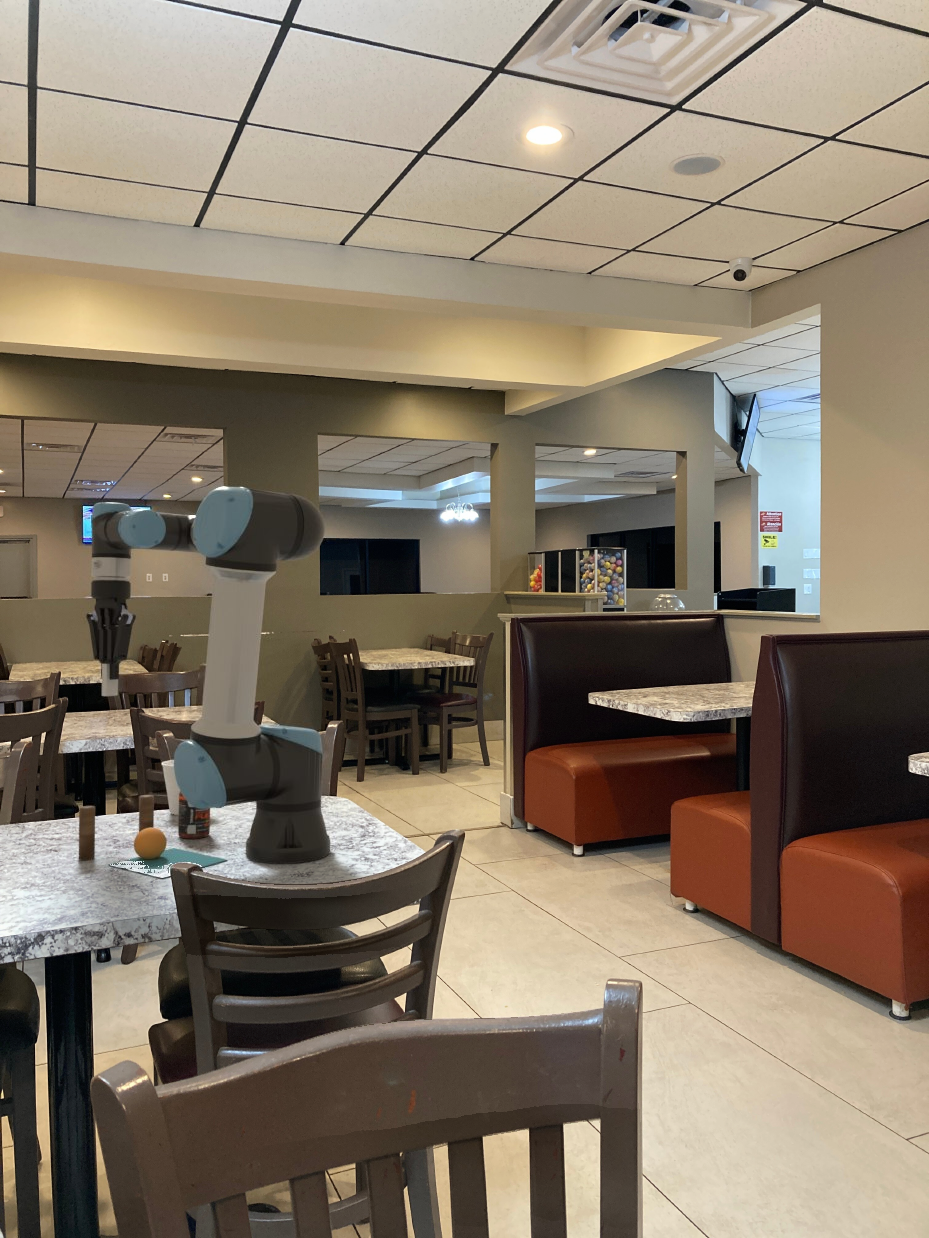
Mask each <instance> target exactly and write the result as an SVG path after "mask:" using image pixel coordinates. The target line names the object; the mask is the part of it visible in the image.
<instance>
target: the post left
mask: <svg viewBox="0 0 929 1238" xmlns="http://www.w3.org/2000/svg"><path fill="white" fill-rule="evenodd" d="M78 808H79V809H78V810H79V812H78V817H79V818H78V860H79V861H91V859H92V860H94V859H95V857H96V855H95V853H96V852H95V849H96V847H95V846H96V806H95V805H84V806H80V807H78Z"/></svg>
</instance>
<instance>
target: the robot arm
mask: <svg viewBox="0 0 929 1238" xmlns="http://www.w3.org/2000/svg"><path fill="white" fill-rule="evenodd" d="M91 514H92V515H91V520H90V523H91V577H92V578H94V579H93V580H91V582H90V585H91V586H90V596H91V598H92V599H95V603H94V604H95V605H94V606H93V609H94V610H93V611H92V612H91V613H87V614H85V615H86V617H85V618H86V621H87V622H88V625H89V631H90V632H89V634H90V640H91V647H92V654H93V659H94V660H96V661H98V662H99V663H100V665H101V667H100V670H101V672H100V673H101V674H100V677H101V696H102V697H115V696H119V678H120V663H122V662H124V661H127V659H128V654H129V648H130V643H131V635H132V630H133V625H134V623H135V621H136V617H137V616H136V614H134V613H130V612H129V611H128V604H127V600H129V599H131V593H132V592H131V590H132V589H131V587H132V585H131V583H132V582H131V581H130V580H128V579H130V578H131V577H132V550H134V549H135V550H138V549H139V550H152V551H167V552H168V551H171V552H173V551H174V552H186V553H195V554H197V553H198V554H201V555H202V556H204V557H205V564H204V566H205V568H206V569H207V570H208V571H209V572H210V574H211V575H212V577H213V582H212V593H211V606H210V613H209V614H210V616H209V624H208V625H209V627H208V638H207V639H208V640H207V650H206V662H205V672H204V673H205V674H204V685H203V696H202V705H201V708H202V709H201V715H200V717H199V718H198V719H197V720H196V721H195V722H193V724H192V725H190V726H191V727H190V736H189V737H190V739H186V740H184V741H182V742H180V743H179V744H178V745H177V748H176V749H175V751H174V754H173V755H174V757H173V760H174V773H175V778H176V782H177V784H178V787H179V789H180V791H181V793H182V795H183V797H184V798H185V799H186V800H187V802H188V803H190V804H191V805H192V806H194V807H196V808H200V809H205V808H210V809H222V808H225V807H229V806H236V805H241V804H242V805H243V804H247V803H254V802H255V803H256V804H255V805H256V806H255V814H254V817H253V821H252V823H251V827H250V831H249V836H248V837H247V838H246V842H245V856H246V858H248V859H250V860H253V861H256V862H260V863H268V864H296V863H305V862H306V863H307V862H312V861H316V860H319V859H322V858H326V856H328V855H329V854H330V853H331V838H330V836H329V834H328V832H327V827H326V823H325V820H324V816H323V812H322V769H323V768H322V767H323V766H322V764H323V762H322V761H323V755H324V753H323V746H322V736H321V734H320V732H318V731H317V730H315V729H313V728H307V727H299V726H289V725H288V726H287V725H279V724H276V725H275V724H259V725H258V724H257V723H256V722H255V719H254V716H255V704H256V693H257V682H258V671H259V661H260V653H261V652H260V649H261V641H262V639H261V638H262V628H263V620H264V619H263V617H264V607H265V599H266V598H265V596H266V595H265V594H266V585H267V582H268V581H269V579H271V578H272V577H273V576H274V575H276V573H277V568H278V567H277V564H278V561H280V562H281V561H283V562H285V561H286V562H288V561H289V562H292V561H299V560H303V559H306V558H307V557H309V556H311V555H313V554H314V553H316V551H317V550H318V549H319V547H320V546H321V545H322V542H323V540H324V537H325V531H326V529H325V527H326V526H325V519H324V518H323V514H322V513H321V512H320V510H319V509H318V507H317V506H316V505H315V504H314V503H313V502H312V501H311V500H309V499H307V498H306V497H304V496H301V495H298V494H295V493H289V492H285V493H283V492H275V491H270V490H269V491H268V490H263V489H262V490H261V489H256V488H249V487H243V486H220V487H217V488H214V489H213V490H211V491H210V492H209V493H208V494H207V495H206V496H205V498H204V499H202V501H201V503H200V504H199V506H198V509H197V510H196V513H195V515H192V514H191V515H189V514H177V513H176V514H175V513H169V512H158V511H155V510H152V509H149V508H140V507H139V508H135V509H132V507H131V506H130V505H129V504H126V503H122V502H107V501H106V502H97V503H95V504H94V505H93V507H92V513H91Z"/></svg>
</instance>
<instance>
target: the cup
mask: <svg viewBox="0 0 929 1238" xmlns="http://www.w3.org/2000/svg"><path fill="white" fill-rule="evenodd" d="M161 766H162V771H163V776H164V781H165V782H164V783H165V788H166V795H167V796H166V797H167V802H168V807H169V812H170V813H171V815H173V814H174V815H173V816H179V793H180V789H179V787H178V784H177V782H176V778H175V773H174V759H170V760H165V761H162V762H161Z"/></svg>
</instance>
